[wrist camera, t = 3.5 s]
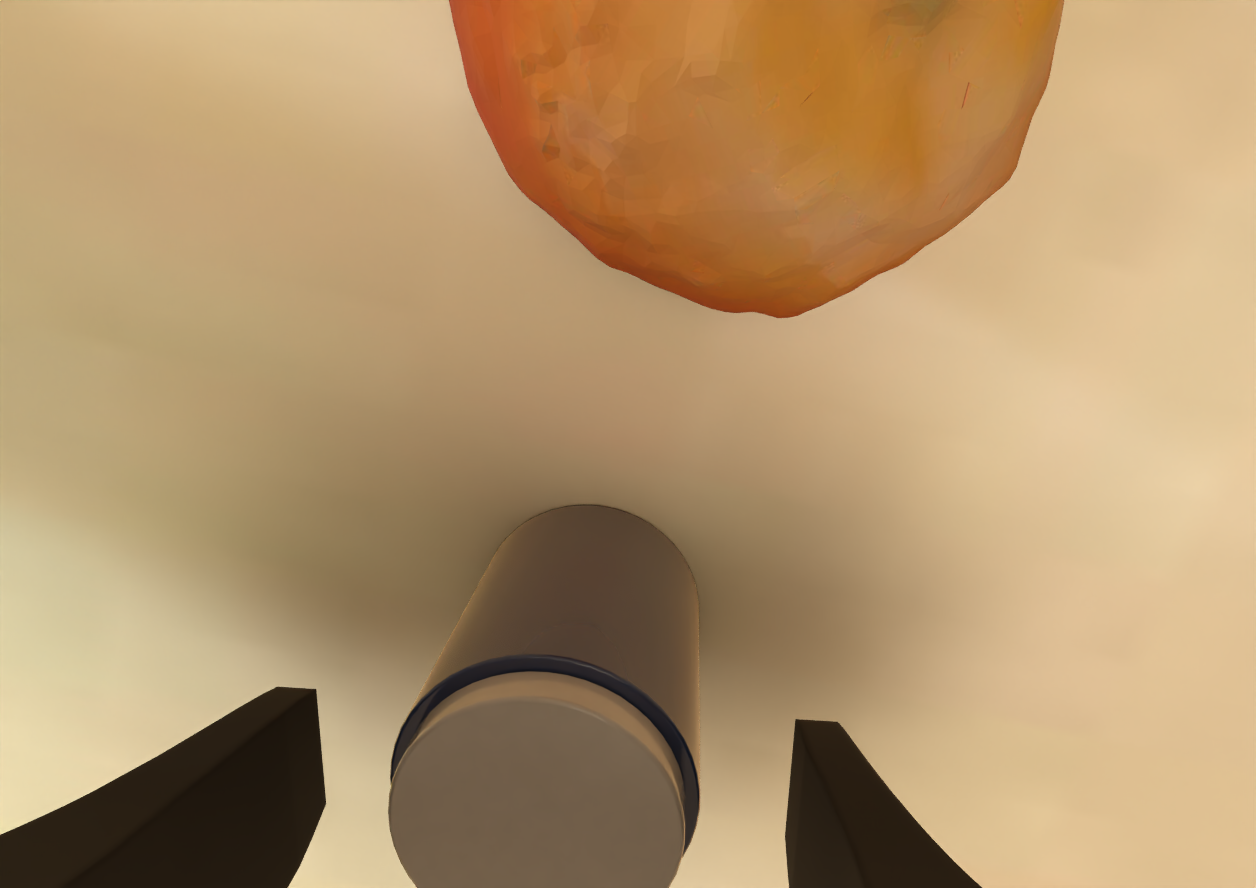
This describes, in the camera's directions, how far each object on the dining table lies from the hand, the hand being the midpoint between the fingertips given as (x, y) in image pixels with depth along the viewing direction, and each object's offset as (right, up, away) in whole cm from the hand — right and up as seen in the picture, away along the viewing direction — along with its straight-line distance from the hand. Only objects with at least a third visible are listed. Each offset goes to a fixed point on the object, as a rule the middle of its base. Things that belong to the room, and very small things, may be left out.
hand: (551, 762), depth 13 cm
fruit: (+3, +12, +2) cm, 12 cm away
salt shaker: (0, +1, +5) cm, 5 cm away
